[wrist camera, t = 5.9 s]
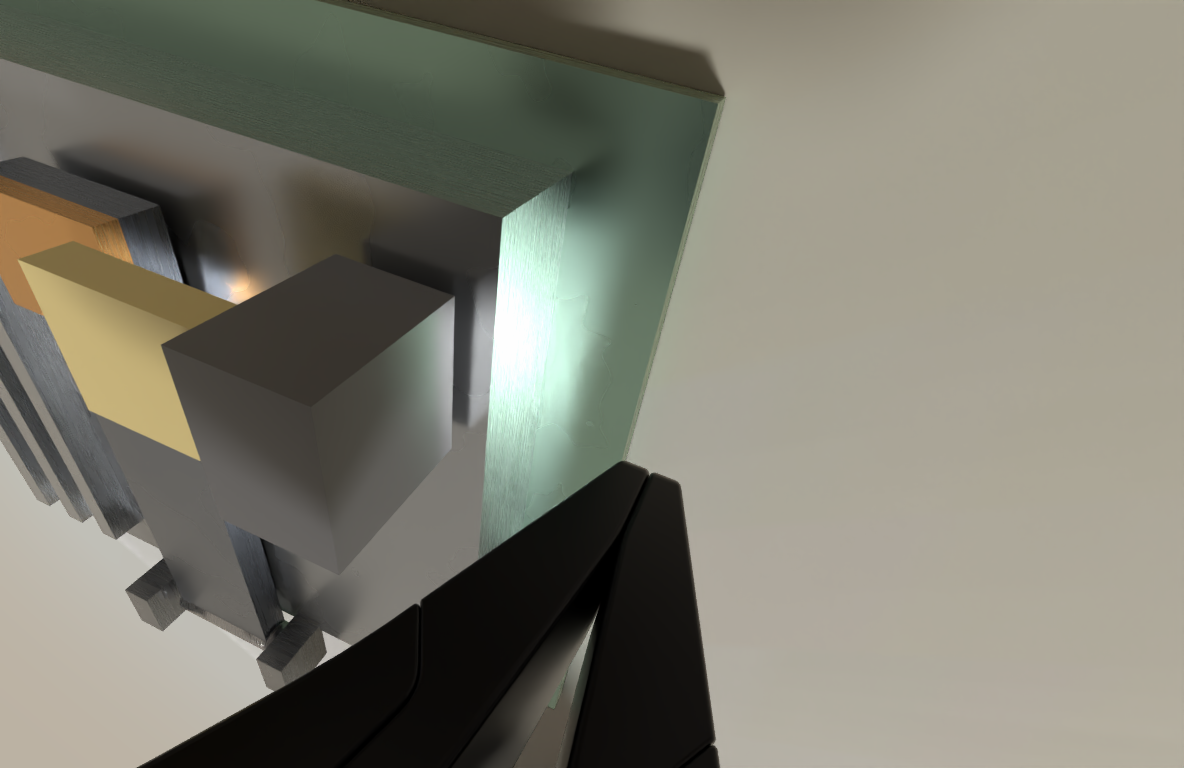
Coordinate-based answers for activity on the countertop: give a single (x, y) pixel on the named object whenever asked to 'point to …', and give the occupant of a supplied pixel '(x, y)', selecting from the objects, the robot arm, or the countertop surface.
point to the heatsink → (366, 247)
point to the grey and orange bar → (153, 470)
